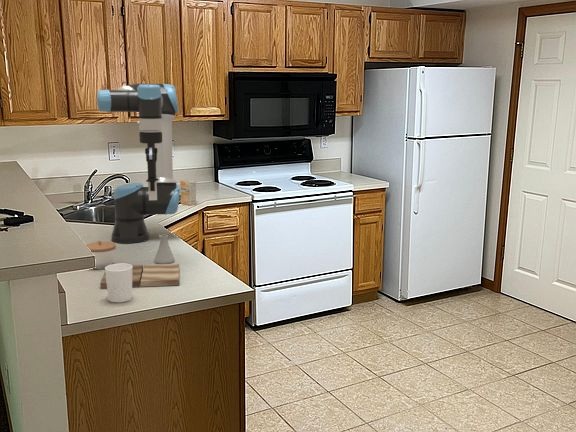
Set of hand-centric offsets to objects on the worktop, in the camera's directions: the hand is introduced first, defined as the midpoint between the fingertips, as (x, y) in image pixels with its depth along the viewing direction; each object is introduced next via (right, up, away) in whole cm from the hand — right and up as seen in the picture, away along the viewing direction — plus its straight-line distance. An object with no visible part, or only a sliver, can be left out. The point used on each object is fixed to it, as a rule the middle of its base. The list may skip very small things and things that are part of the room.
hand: (153, 199), depth 202 cm
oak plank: (+4, -26, -6) cm, 27 cm away
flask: (+1, -23, +12) cm, 26 cm away
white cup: (-4, -31, -26) cm, 41 cm away
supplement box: (-8, +1, +120) cm, 121 cm away
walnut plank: (-8, -27, -8) cm, 29 cm away
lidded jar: (-20, -24, +6) cm, 31 cm away
